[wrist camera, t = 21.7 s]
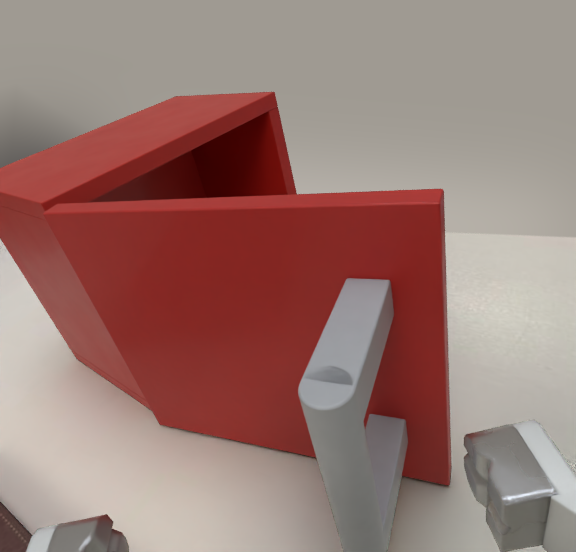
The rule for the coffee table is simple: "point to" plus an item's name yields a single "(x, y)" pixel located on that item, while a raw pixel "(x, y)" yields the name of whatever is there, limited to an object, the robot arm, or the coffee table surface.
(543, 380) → the coffee table surface
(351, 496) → the red cabinet door
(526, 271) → the coffee table surface
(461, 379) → the coffee table surface
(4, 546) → the notebook
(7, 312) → the coffee table surface
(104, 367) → the cabinet
